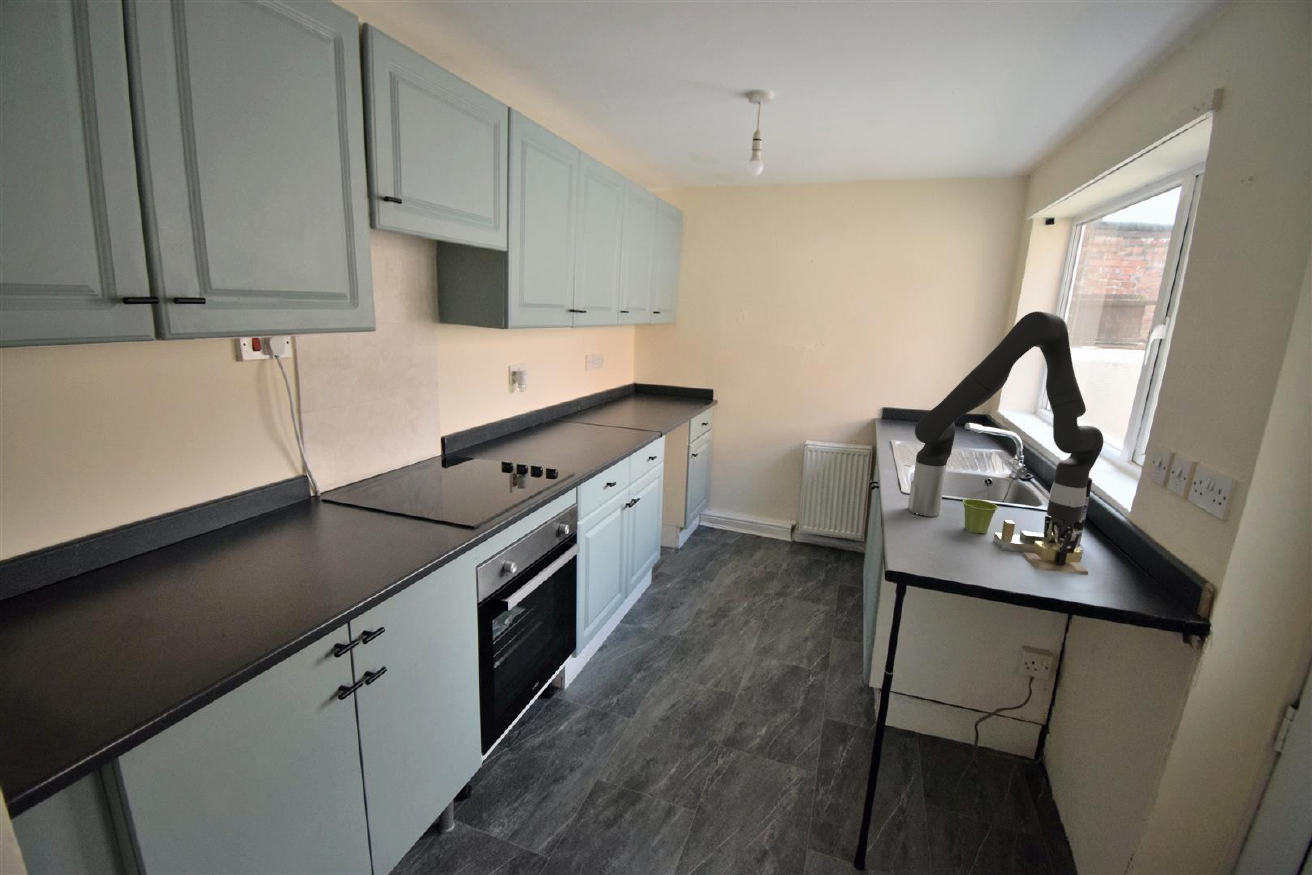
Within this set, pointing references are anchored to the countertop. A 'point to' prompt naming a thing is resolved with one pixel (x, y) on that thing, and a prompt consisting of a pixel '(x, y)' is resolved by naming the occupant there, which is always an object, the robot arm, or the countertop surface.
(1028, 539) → the plane body
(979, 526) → the plant pot
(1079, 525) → the spray can
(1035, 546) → the lever cap
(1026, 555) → the cork mat
